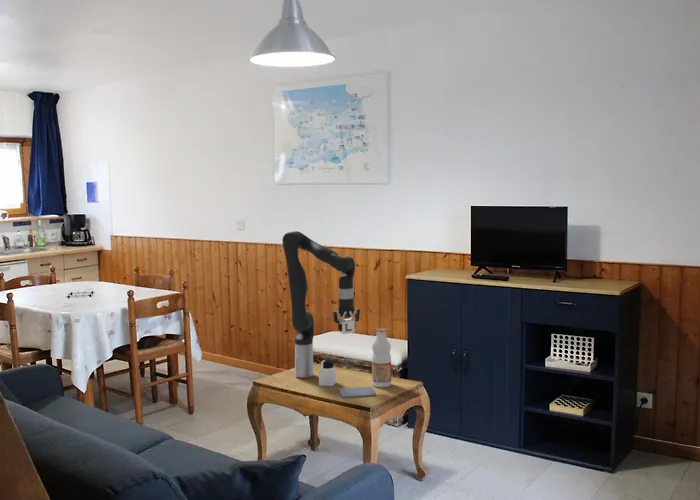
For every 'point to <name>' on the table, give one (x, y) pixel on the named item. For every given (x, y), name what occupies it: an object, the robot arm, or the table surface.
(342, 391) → the slate mat
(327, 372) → the medicine bottle
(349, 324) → the letter cube
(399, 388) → the table surface
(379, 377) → the white plastic bottle
